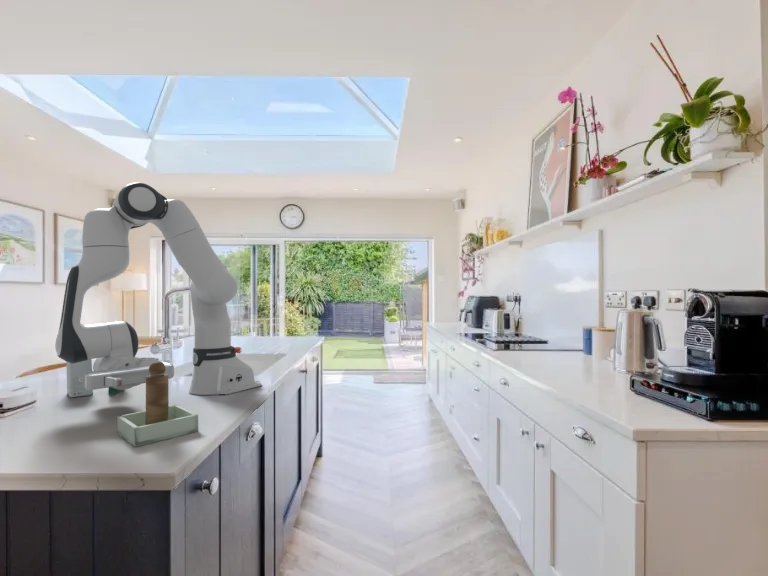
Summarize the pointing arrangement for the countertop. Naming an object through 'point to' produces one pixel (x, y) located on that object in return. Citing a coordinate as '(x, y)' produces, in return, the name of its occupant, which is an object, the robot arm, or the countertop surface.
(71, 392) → the skincare box
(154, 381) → the mill
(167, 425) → the bin
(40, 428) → the countertop surface
